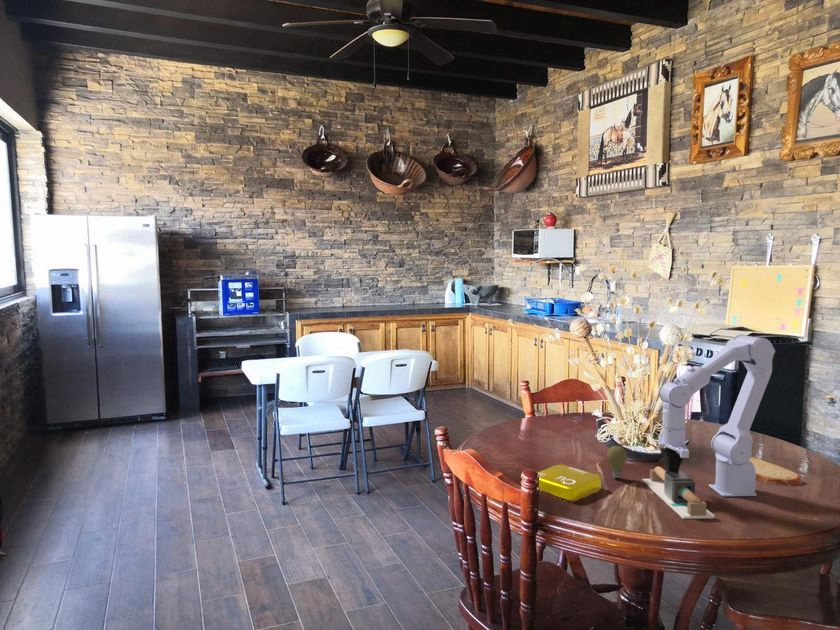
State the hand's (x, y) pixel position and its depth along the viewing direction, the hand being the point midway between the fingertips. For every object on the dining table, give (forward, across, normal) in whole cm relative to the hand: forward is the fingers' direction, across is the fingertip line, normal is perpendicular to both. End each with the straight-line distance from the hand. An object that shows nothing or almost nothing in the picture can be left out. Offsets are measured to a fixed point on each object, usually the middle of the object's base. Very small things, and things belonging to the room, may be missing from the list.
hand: (672, 475), depth 162 cm
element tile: (+6, -6, -28) cm, 29 cm away
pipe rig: (+6, +2, 0) cm, 6 cm away
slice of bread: (+6, -15, +34) cm, 38 cm away
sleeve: (+5, +3, 0) cm, 6 cm away
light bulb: (+6, -13, -11) cm, 18 cm away
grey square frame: (+5, +7, 0) cm, 8 cm away
